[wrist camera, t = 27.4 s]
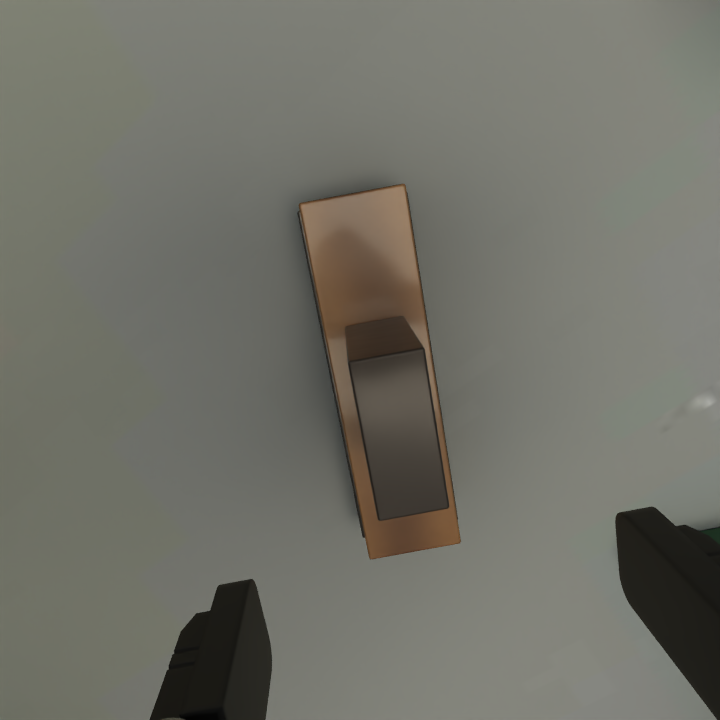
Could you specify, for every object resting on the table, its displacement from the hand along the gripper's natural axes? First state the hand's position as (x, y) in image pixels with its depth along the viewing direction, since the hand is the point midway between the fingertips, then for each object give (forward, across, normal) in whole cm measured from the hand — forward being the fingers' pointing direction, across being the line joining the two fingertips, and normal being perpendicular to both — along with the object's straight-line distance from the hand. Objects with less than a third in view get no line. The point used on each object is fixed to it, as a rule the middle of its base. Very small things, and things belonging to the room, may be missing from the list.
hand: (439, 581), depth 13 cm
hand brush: (+17, 0, 0) cm, 17 cm away
